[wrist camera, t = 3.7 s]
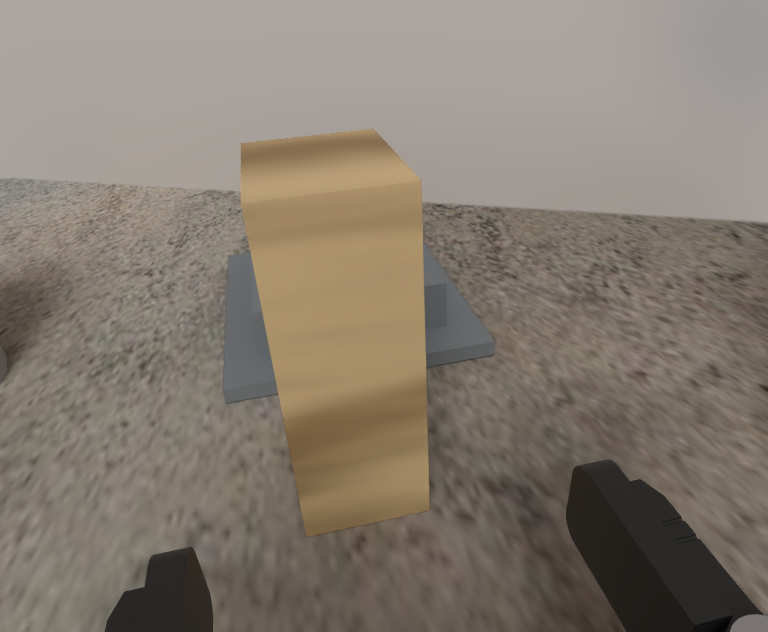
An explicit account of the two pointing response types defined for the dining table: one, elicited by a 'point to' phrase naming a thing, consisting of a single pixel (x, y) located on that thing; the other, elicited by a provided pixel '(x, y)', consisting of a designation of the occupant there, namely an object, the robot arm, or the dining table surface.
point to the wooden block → (343, 320)
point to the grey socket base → (251, 349)
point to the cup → (3, 363)
